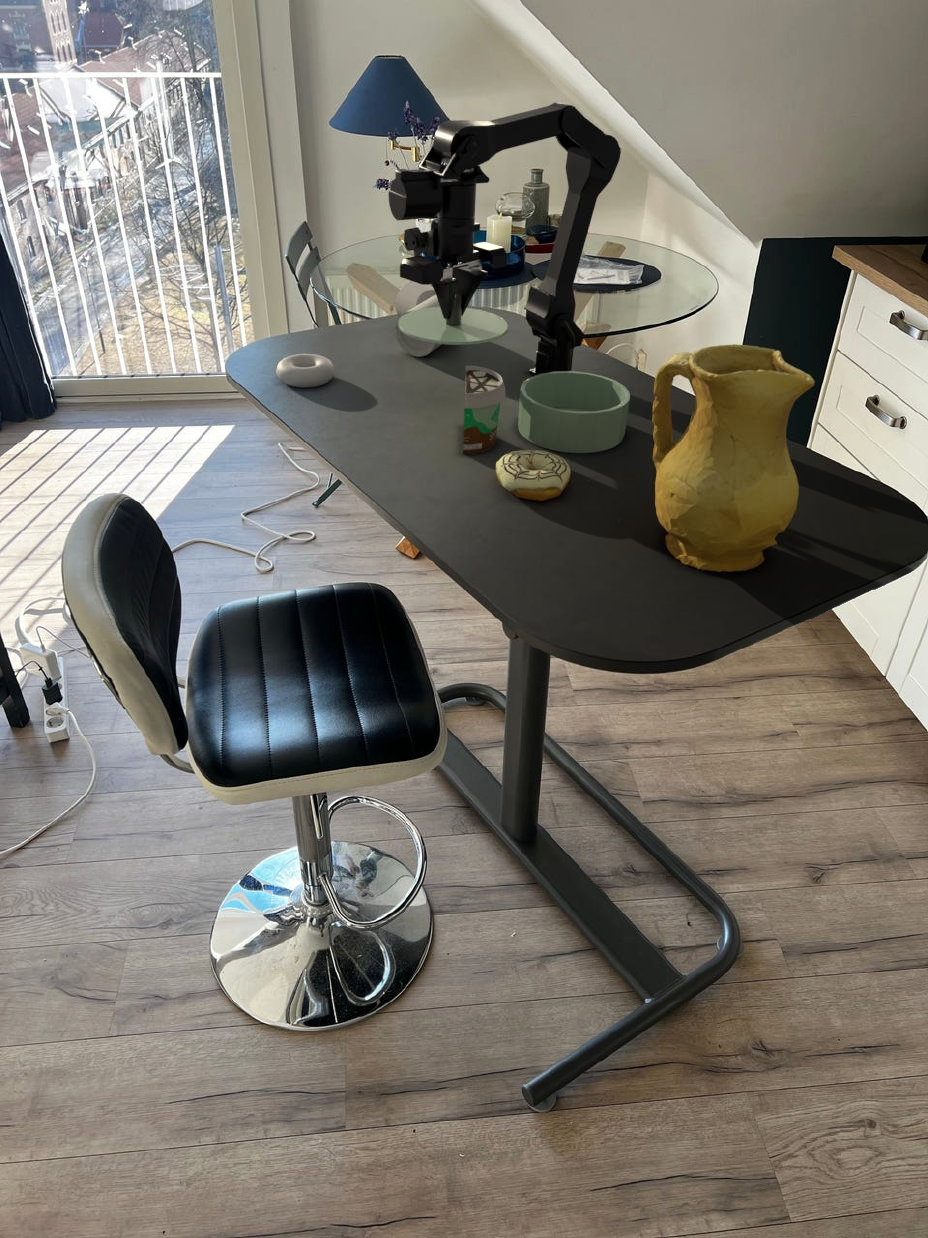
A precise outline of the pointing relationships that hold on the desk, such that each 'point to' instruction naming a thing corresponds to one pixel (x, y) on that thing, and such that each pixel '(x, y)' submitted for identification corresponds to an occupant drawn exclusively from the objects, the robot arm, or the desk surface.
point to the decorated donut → (533, 474)
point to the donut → (305, 370)
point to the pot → (573, 411)
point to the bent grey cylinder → (411, 300)
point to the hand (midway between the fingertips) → (453, 317)
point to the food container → (481, 408)
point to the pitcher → (726, 455)
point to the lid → (453, 325)
